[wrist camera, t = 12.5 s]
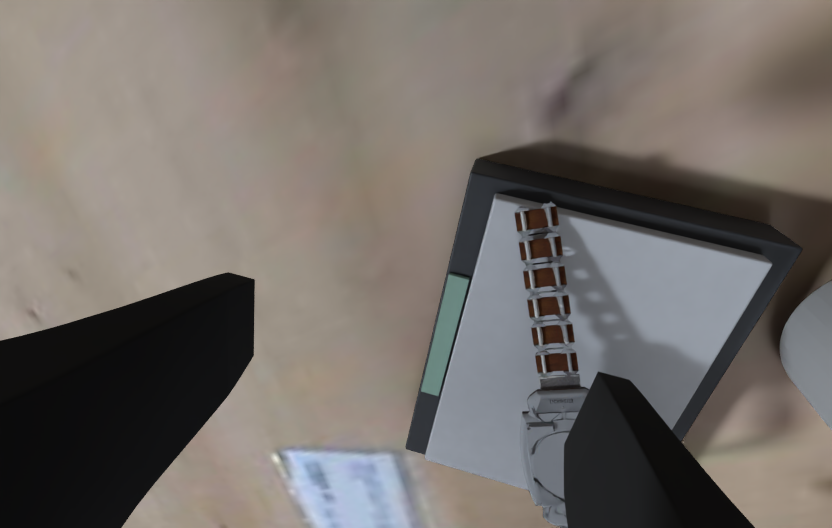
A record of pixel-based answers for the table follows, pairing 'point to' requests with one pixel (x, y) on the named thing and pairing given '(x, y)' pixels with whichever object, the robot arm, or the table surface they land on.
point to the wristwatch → (548, 366)
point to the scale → (586, 309)
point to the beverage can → (811, 350)
